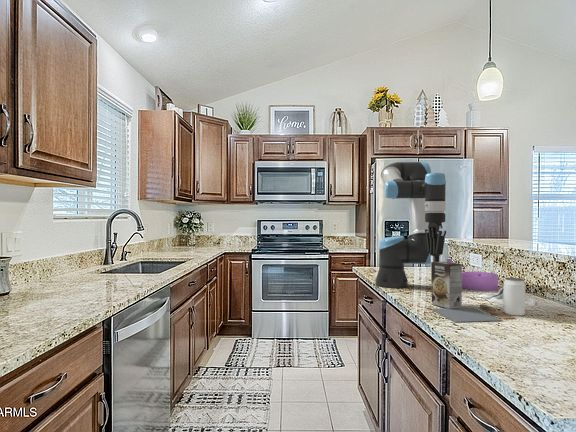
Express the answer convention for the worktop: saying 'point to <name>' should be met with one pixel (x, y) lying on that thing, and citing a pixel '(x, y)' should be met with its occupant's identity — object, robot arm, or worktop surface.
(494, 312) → the turner
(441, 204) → the robot arm
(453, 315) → the mat
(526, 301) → the cloth
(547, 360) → the worktop surface
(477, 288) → the container set
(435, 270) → the coffee box
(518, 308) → the can
